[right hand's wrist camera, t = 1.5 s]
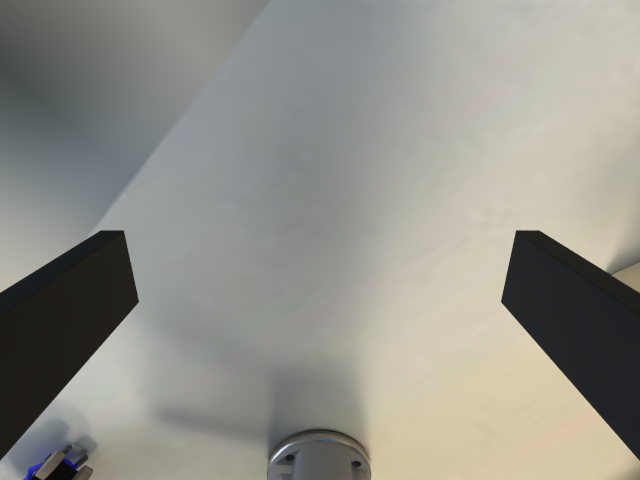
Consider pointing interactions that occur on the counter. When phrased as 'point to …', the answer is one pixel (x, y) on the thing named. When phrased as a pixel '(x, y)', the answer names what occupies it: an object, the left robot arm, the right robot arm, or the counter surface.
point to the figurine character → (59, 468)
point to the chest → (630, 276)
